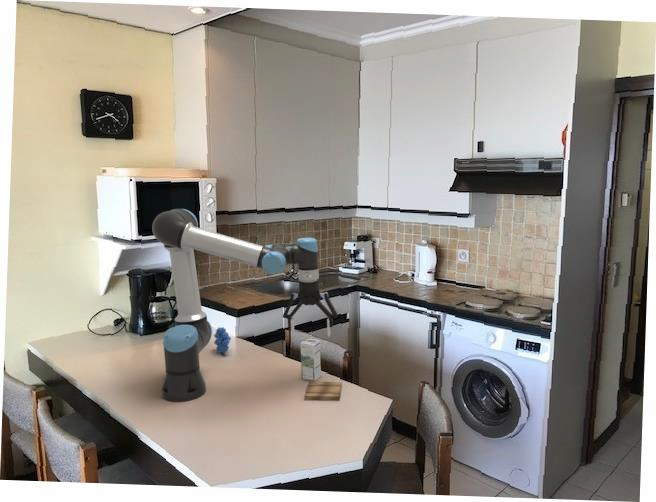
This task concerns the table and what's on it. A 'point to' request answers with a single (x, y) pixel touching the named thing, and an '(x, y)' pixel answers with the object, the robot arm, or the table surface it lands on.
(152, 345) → the table surface
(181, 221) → the robot arm
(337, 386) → the square wooden board
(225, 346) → the grapes
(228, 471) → the table surface
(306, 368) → the syrup box
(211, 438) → the table surface
